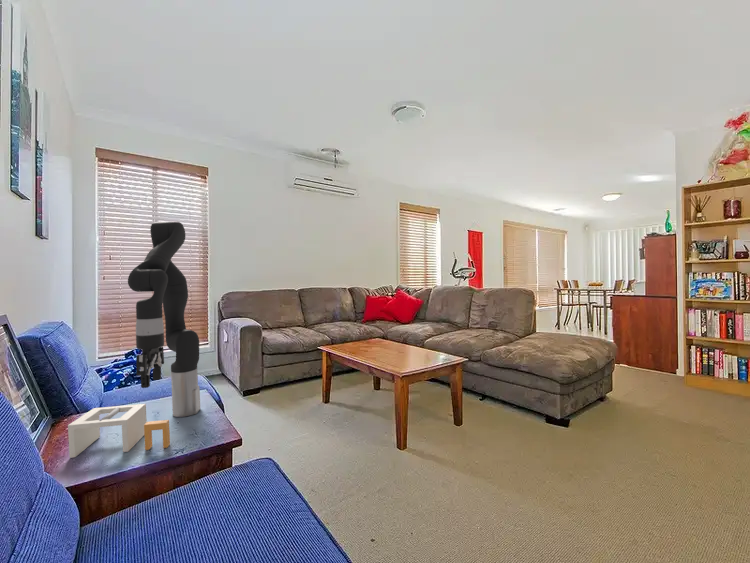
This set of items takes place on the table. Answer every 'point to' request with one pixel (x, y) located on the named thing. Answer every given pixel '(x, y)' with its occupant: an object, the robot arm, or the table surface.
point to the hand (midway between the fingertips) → (151, 383)
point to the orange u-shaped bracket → (156, 426)
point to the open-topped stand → (89, 426)
